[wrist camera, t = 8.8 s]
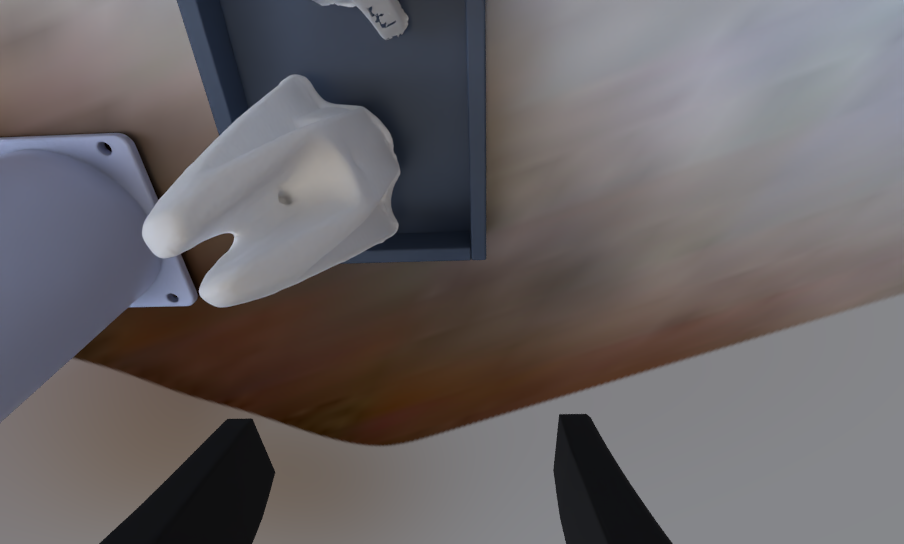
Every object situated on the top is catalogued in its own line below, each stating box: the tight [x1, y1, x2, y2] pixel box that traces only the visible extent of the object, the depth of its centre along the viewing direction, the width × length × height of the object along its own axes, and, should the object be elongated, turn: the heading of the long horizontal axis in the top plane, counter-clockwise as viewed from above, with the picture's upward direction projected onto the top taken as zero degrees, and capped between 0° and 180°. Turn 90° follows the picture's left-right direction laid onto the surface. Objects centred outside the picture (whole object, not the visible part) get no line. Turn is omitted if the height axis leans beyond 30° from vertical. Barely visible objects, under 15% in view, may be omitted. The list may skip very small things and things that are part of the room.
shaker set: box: [142, 0, 409, 307], centre depth 10 cm, size 12×4×11 cm, turn 175°
